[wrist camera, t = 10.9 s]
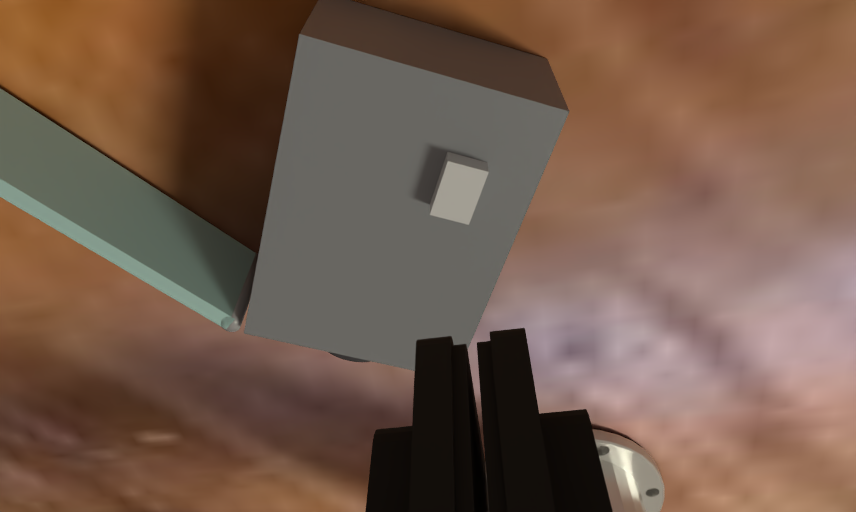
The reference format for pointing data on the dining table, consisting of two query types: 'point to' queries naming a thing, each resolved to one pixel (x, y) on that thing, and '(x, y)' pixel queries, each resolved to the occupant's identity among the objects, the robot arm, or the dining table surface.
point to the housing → (397, 183)
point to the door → (121, 216)
